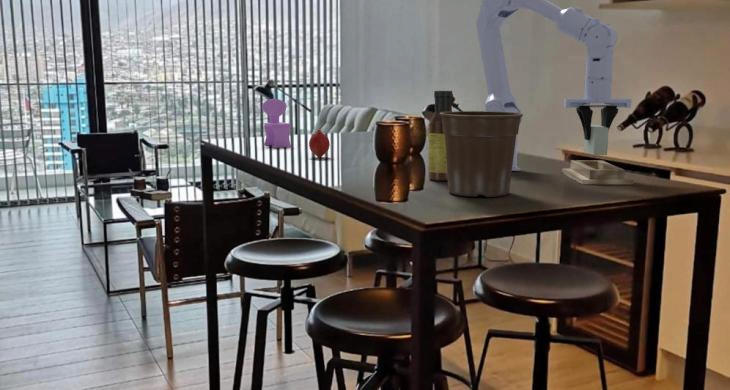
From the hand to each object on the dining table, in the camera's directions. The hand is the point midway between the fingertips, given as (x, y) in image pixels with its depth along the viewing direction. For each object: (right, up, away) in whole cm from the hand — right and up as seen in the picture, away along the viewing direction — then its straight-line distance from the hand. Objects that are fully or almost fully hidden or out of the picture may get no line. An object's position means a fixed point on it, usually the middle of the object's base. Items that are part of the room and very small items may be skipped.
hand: (595, 139), depth 162 cm
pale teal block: (0, -3, 0) cm, 3 cm away
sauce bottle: (-35, -9, -2) cm, 36 cm away
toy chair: (-81, +3, +66) cm, 104 cm away
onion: (-65, -2, +38) cm, 75 cm away
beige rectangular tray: (0, -9, 0) cm, 9 cm away
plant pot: (-30, -12, -18) cm, 37 cm away
